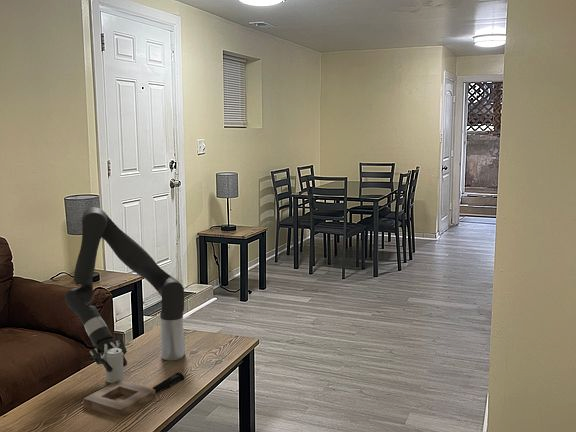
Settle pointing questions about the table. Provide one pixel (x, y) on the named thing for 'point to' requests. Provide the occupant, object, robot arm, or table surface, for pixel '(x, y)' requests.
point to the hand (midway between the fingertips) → (118, 368)
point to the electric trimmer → (168, 382)
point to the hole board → (118, 409)
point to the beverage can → (115, 365)
